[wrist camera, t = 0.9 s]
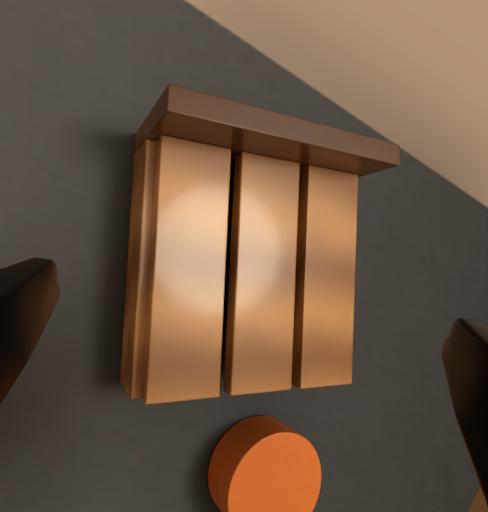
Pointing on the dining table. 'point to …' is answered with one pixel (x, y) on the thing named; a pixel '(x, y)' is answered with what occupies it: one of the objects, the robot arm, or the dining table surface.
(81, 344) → the dining table surface
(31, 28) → the dining table surface
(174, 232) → the rack
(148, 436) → the dining table surface
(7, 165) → the dining table surface
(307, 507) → the cylinder
